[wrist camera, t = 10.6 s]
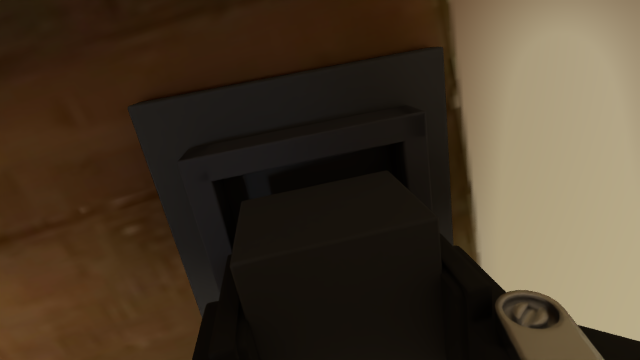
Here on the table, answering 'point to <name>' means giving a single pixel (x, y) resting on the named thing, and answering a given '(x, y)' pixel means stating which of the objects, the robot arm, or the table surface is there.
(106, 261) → the table surface
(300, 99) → the base pad
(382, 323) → the dark grey block
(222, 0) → the table surface
